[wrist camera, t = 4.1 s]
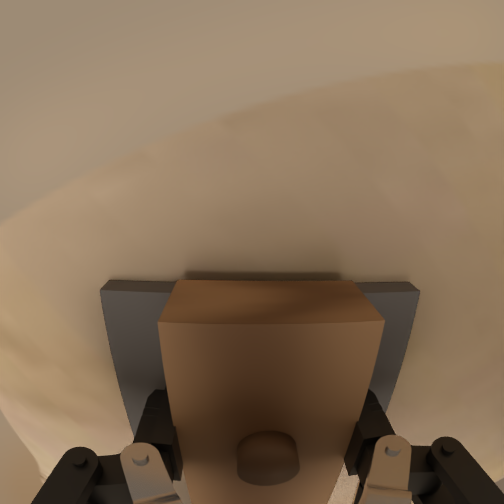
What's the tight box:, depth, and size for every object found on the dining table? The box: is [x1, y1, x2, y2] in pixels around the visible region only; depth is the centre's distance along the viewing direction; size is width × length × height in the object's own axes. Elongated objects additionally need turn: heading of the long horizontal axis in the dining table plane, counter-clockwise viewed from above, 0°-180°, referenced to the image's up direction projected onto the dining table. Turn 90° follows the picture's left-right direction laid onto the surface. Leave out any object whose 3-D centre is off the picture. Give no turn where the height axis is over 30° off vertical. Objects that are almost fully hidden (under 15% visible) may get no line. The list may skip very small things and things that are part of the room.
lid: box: [158, 280, 385, 504], centre depth 10 cm, size 6×10×4 cm, turn 179°
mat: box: [100, 280, 420, 438], centre depth 13 cm, size 12×9×1 cm
